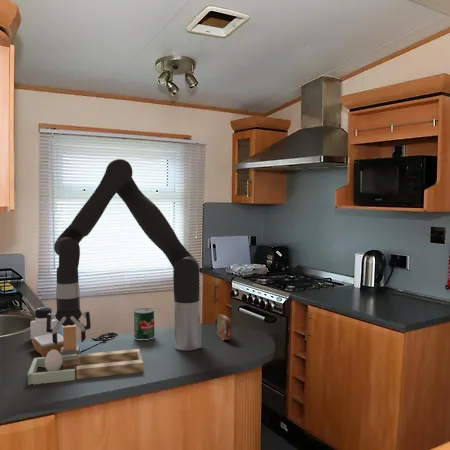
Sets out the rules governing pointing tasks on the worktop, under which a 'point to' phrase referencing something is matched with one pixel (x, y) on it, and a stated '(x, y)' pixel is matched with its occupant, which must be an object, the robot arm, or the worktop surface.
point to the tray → (50, 372)
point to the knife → (105, 337)
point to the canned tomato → (144, 323)
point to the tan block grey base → (70, 341)
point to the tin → (223, 327)
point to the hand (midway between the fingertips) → (69, 342)
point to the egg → (53, 361)
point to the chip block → (71, 364)
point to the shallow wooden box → (109, 363)
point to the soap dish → (47, 344)
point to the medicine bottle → (41, 322)
